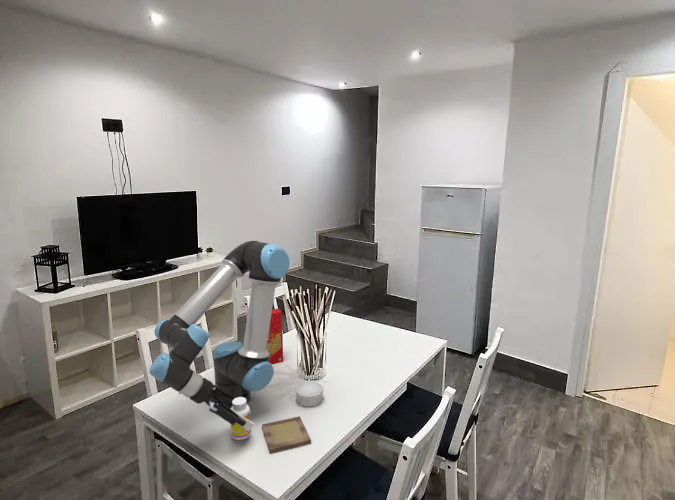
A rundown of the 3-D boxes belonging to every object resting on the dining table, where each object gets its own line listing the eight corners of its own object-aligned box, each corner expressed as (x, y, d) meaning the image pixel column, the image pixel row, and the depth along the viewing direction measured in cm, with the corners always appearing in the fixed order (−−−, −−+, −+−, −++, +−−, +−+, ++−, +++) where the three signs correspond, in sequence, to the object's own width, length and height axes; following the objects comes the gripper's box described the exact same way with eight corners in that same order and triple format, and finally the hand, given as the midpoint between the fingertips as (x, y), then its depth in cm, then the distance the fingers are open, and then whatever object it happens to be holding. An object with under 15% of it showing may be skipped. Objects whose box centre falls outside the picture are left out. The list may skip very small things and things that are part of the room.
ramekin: (303, 390, 171) (302, 379, 170) (327, 396, 167) (327, 384, 166) (290, 405, 161) (290, 393, 160) (316, 411, 157) (316, 398, 156)
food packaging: (252, 368, 189) (250, 317, 184) (249, 364, 194) (247, 313, 188) (283, 361, 196) (281, 312, 191) (279, 357, 200) (277, 308, 195)
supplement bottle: (252, 438, 139) (250, 404, 137) (232, 442, 137) (230, 408, 134) (249, 426, 146) (247, 393, 143) (230, 430, 143) (228, 397, 141)
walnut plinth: (261, 428, 147) (261, 424, 147) (299, 419, 152) (299, 416, 152) (269, 453, 134) (269, 449, 134) (311, 443, 139) (310, 439, 139)
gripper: (187, 381, 141) (238, 413, 150) (188, 413, 123) (246, 447, 132) (202, 364, 142) (252, 397, 151) (205, 394, 124) (262, 429, 133)
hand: (249, 420), depth 141 cm, fingers closed on supplement bottle, 7 cm apart
